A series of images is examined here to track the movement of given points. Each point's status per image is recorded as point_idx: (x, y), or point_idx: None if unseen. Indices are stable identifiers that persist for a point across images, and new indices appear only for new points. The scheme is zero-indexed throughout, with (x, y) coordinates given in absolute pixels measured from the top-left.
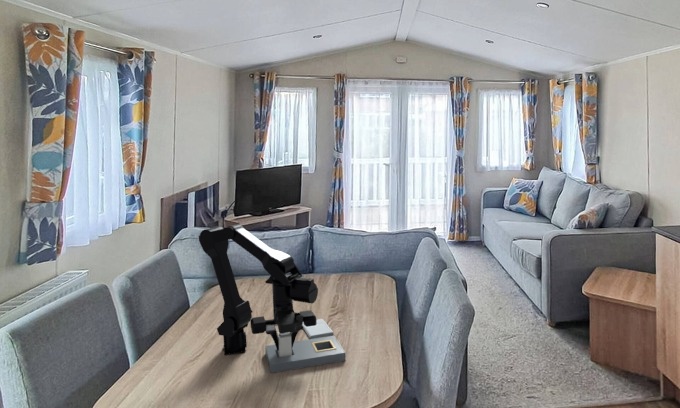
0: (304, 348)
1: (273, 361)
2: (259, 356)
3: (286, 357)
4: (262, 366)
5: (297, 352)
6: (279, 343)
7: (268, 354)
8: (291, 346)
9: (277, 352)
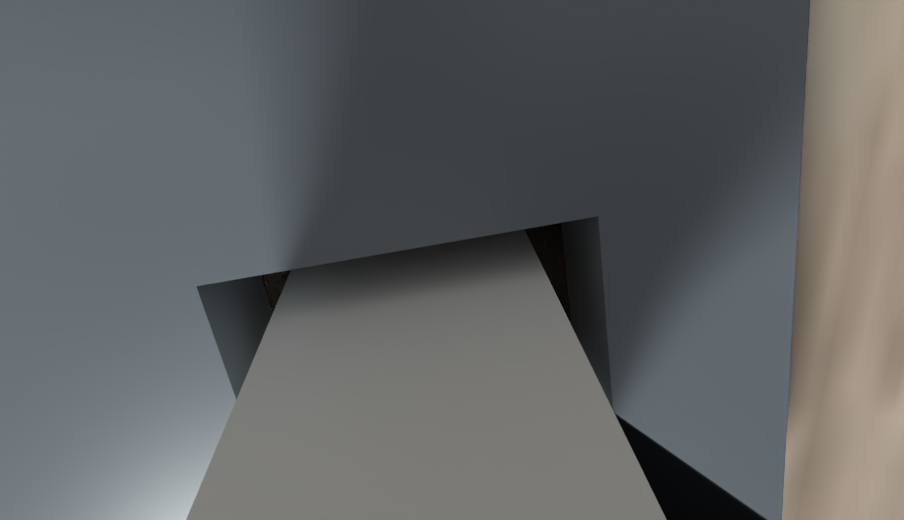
0: (11, 517)
1: (715, 31)
2: (807, 476)
3: (386, 190)
4: (818, 181)
5: (142, 381)
6: (641, 500)
7: (772, 372)
8: (217, 448)
9: None
